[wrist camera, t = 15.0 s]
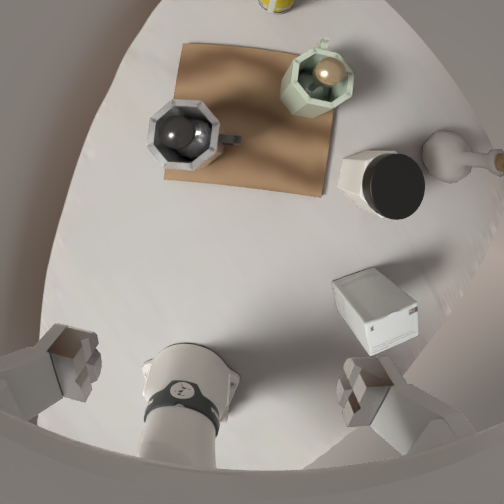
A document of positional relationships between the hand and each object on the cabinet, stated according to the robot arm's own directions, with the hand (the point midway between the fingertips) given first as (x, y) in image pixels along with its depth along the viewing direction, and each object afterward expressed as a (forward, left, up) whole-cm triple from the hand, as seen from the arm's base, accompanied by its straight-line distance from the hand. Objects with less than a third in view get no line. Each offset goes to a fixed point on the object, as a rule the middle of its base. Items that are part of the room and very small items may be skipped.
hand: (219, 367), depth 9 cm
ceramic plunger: (+17, -8, -33) cm, 38 cm away
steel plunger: (+8, +6, -30) cm, 32 cm away
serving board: (+12, -1, -37) cm, 39 cm away
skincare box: (-12, -22, -37) cm, 45 cm away
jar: (+6, -19, -37) cm, 42 cm away
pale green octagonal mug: (+18, -8, -36) cm, 41 cm away
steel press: (+8, +5, -36) cm, 37 cm away
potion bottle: (+13, -33, -37) cm, 51 cm away
